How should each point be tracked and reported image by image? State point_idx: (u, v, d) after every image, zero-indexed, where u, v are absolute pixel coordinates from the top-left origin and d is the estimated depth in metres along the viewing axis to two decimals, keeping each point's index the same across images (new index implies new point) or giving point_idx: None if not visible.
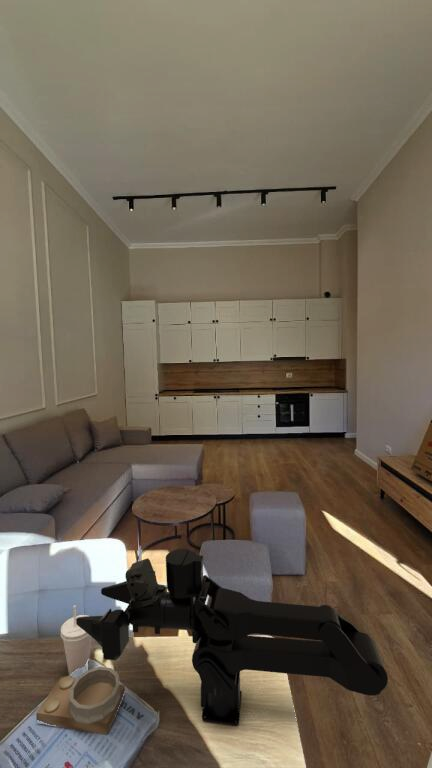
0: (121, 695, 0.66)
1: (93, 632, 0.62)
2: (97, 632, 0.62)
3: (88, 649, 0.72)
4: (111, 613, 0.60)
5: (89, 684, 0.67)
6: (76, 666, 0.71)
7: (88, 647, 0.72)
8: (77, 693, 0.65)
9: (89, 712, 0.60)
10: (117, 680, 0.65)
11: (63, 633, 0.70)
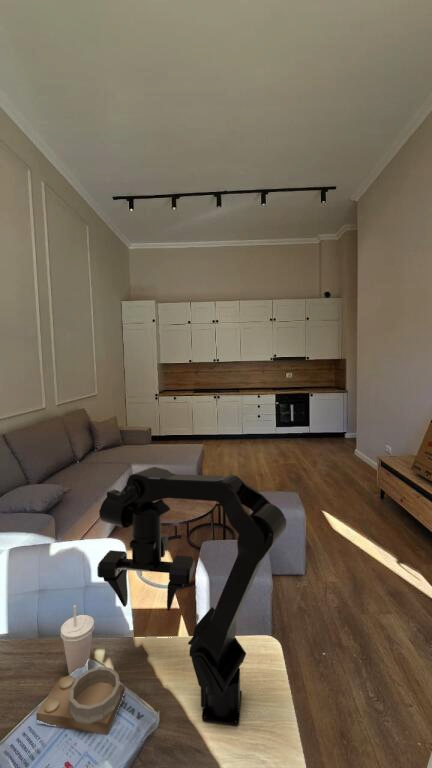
0: (121, 695, 0.66)
1: None
2: None
3: (88, 649, 0.72)
4: None
5: (89, 684, 0.67)
6: (76, 666, 0.71)
7: (88, 647, 0.72)
8: (77, 693, 0.65)
9: (89, 712, 0.60)
10: (117, 680, 0.65)
11: (63, 633, 0.70)
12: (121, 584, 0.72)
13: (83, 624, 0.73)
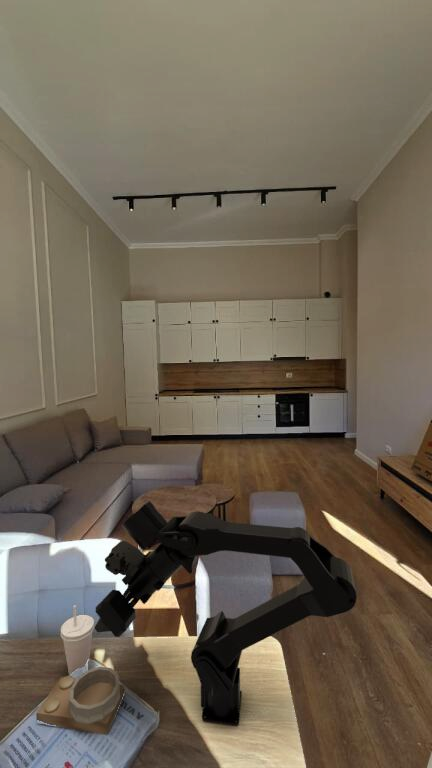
0: (121, 695, 0.66)
1: (108, 626, 0.64)
2: None
3: (88, 649, 0.72)
4: None
5: (89, 684, 0.67)
6: (76, 666, 0.71)
7: (88, 647, 0.72)
8: (77, 693, 0.65)
9: (89, 712, 0.60)
10: (117, 680, 0.65)
11: (63, 633, 0.70)
12: None
13: (83, 624, 0.73)
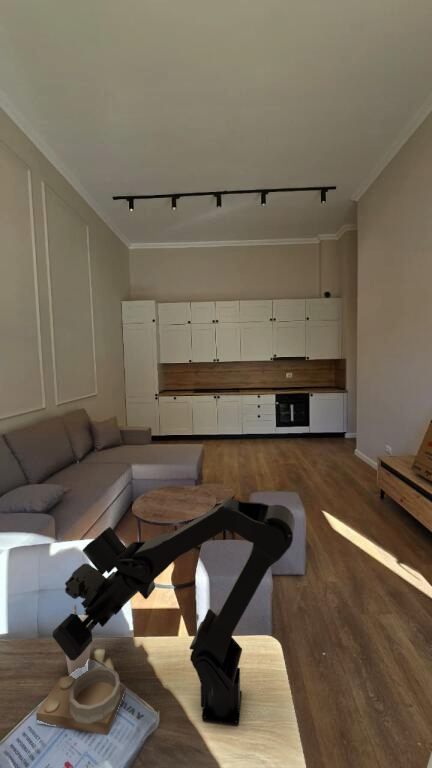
0: (121, 695, 0.66)
1: None
2: None
3: (88, 649, 0.72)
4: None
5: (89, 684, 0.67)
6: (76, 666, 0.71)
7: (87, 647, 0.72)
8: (77, 693, 0.65)
9: (89, 712, 0.60)
10: (117, 680, 0.65)
11: None
12: None
13: None
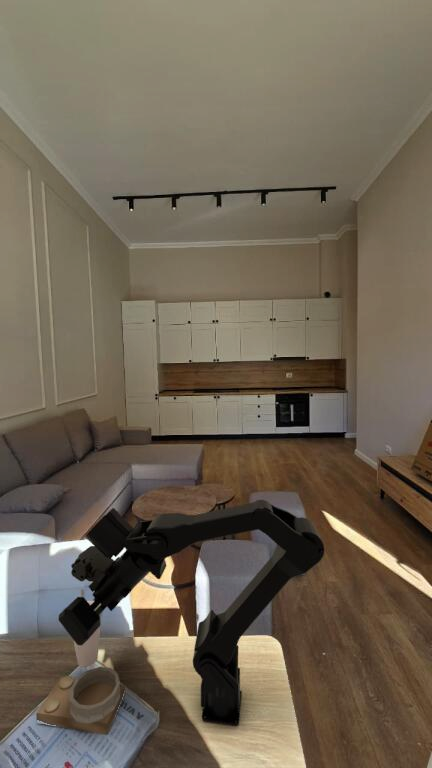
0: (121, 695, 0.66)
1: None
2: None
3: (97, 636, 0.68)
4: None
5: (89, 684, 0.67)
6: (85, 653, 0.67)
7: (96, 633, 0.68)
8: (77, 693, 0.65)
9: (89, 712, 0.60)
10: (117, 680, 0.65)
11: None
12: None
13: None
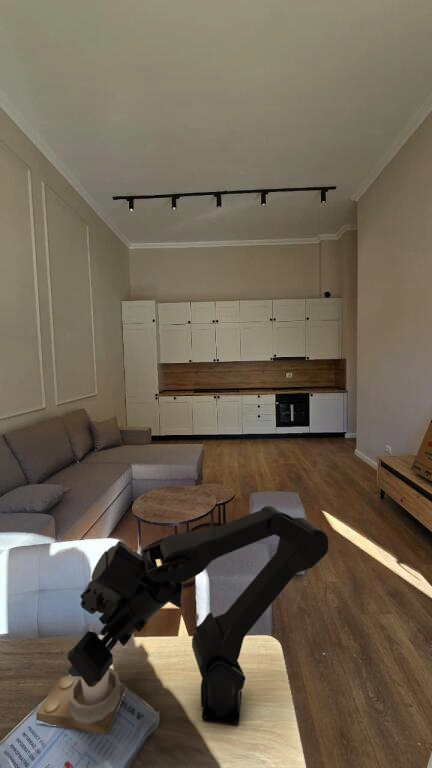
0: (121, 695, 0.66)
1: None
2: None
3: (107, 675, 0.63)
4: (78, 641, 0.57)
5: None
6: (94, 695, 0.62)
7: (106, 673, 0.63)
8: (77, 693, 0.65)
9: (89, 712, 0.60)
10: (117, 680, 0.65)
11: None
12: None
13: None
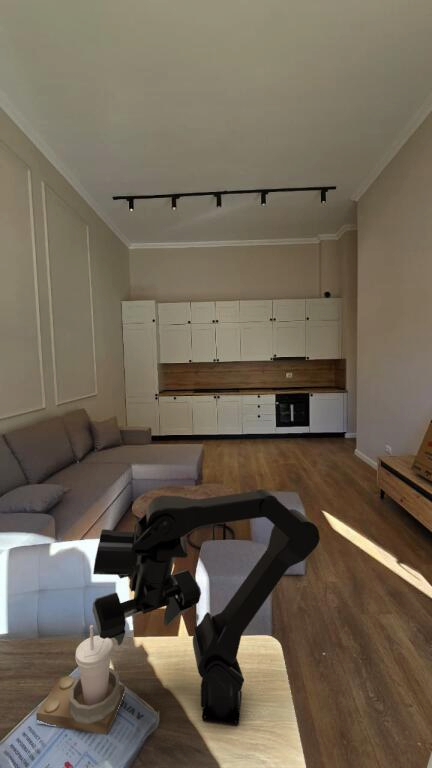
0: (121, 695, 0.66)
1: None
2: None
3: (107, 675, 0.63)
4: None
5: None
6: (94, 695, 0.62)
7: (106, 673, 0.63)
8: (77, 693, 0.65)
9: (89, 712, 0.60)
10: (117, 680, 0.65)
11: (79, 658, 0.62)
12: None
13: (101, 647, 0.64)
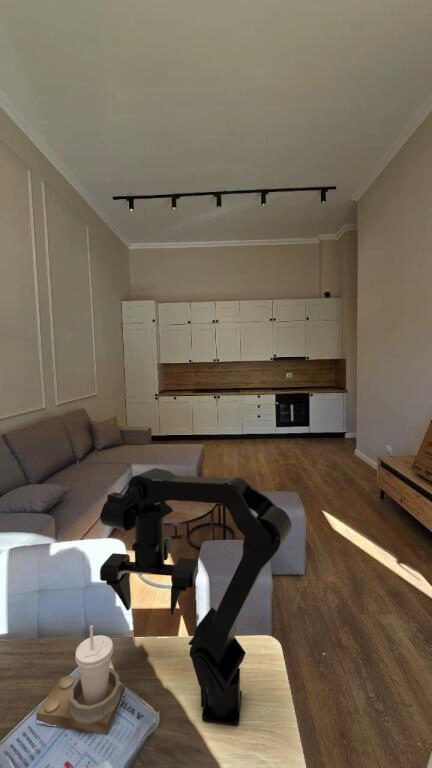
0: (121, 695, 0.66)
1: None
2: None
3: (107, 675, 0.63)
4: None
5: None
6: (94, 695, 0.62)
7: (106, 673, 0.63)
8: (77, 693, 0.65)
9: (89, 712, 0.60)
10: (117, 680, 0.65)
11: (79, 658, 0.62)
12: (124, 587, 0.71)
13: (101, 647, 0.64)
